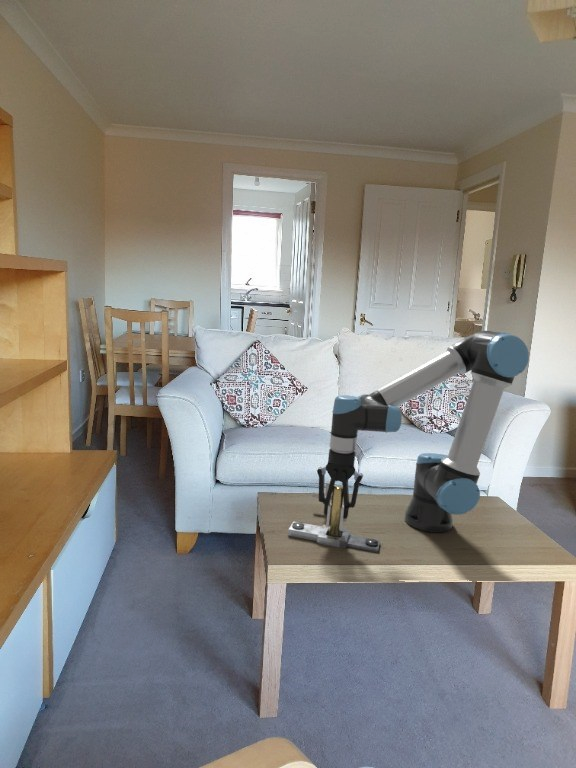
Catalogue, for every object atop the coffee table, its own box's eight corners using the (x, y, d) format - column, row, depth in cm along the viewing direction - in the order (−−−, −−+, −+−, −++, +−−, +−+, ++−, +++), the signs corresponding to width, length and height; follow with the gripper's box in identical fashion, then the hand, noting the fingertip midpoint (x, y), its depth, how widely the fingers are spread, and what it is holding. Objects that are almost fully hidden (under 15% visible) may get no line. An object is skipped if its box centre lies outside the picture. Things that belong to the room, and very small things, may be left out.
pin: (340, 531, 156) (344, 486, 154) (338, 536, 153) (343, 490, 151) (329, 529, 157) (334, 484, 155) (327, 534, 154) (332, 488, 152)
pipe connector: (339, 519, 170) (342, 489, 169) (309, 514, 172) (311, 485, 171) (342, 507, 180) (345, 479, 178) (313, 503, 182) (316, 475, 180)
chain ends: (380, 541, 156) (381, 533, 156) (377, 554, 148) (378, 545, 148) (293, 526, 163) (294, 518, 162) (286, 537, 155) (287, 528, 154)
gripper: (372, 450, 153) (363, 526, 157) (317, 442, 157) (310, 517, 160) (369, 457, 146) (360, 537, 149) (312, 448, 150) (304, 526, 153)
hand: (334, 526), depth 155 cm, fingers closed on pin, 3 cm apart
